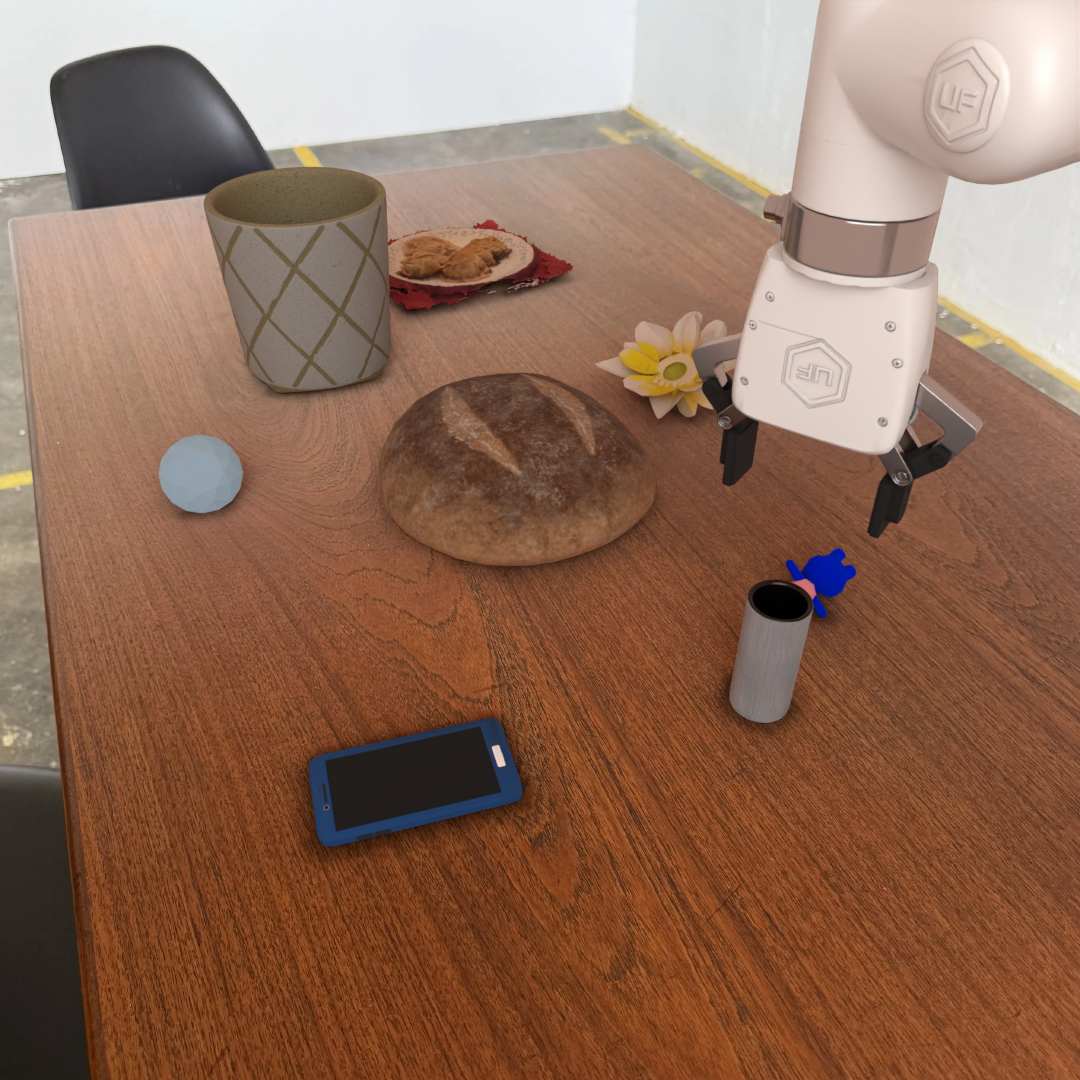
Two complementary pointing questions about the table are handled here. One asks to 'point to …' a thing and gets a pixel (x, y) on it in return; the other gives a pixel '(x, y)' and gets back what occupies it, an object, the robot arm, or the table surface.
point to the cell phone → (412, 781)
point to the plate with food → (464, 264)
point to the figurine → (822, 576)
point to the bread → (513, 471)
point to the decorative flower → (667, 363)
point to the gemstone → (200, 473)
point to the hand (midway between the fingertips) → (806, 500)
